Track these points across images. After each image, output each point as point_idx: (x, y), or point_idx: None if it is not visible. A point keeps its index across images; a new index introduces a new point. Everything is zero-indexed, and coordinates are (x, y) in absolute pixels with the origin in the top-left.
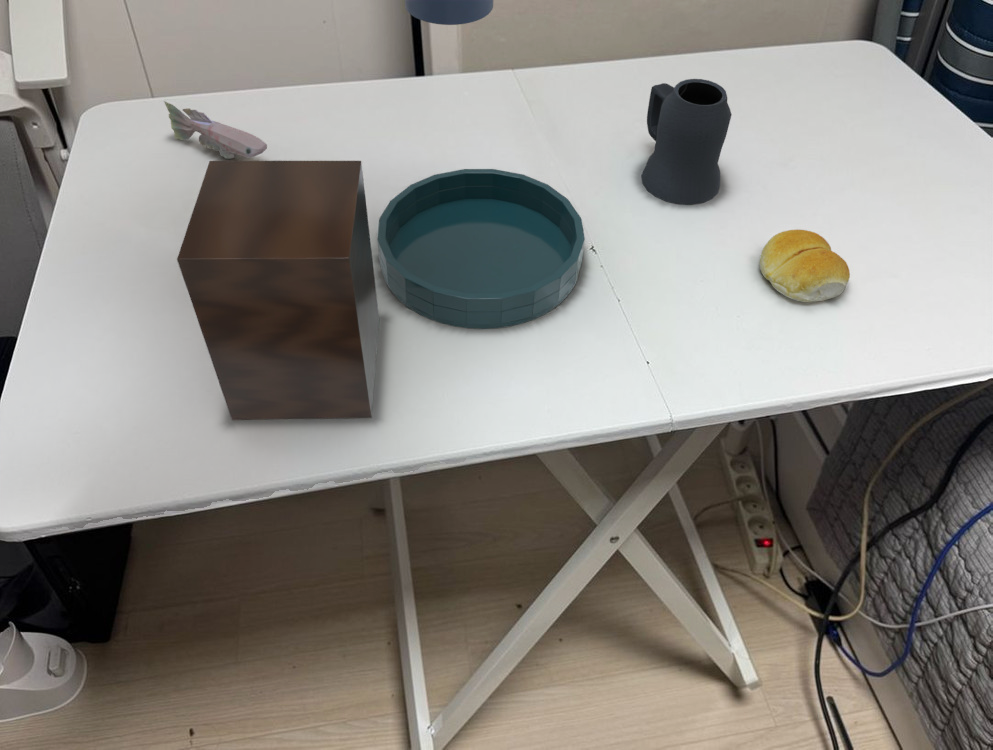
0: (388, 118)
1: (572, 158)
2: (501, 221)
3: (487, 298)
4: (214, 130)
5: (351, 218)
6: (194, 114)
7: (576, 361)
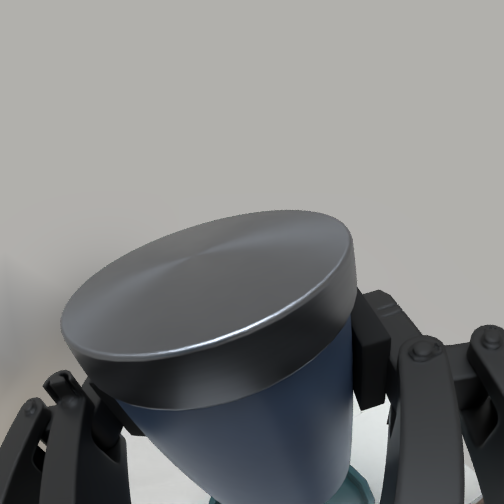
0: None
1: (166, 473)
2: None
3: (369, 487)
4: None
5: None
6: None
7: (375, 442)
